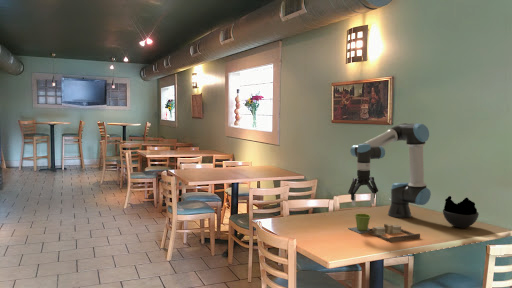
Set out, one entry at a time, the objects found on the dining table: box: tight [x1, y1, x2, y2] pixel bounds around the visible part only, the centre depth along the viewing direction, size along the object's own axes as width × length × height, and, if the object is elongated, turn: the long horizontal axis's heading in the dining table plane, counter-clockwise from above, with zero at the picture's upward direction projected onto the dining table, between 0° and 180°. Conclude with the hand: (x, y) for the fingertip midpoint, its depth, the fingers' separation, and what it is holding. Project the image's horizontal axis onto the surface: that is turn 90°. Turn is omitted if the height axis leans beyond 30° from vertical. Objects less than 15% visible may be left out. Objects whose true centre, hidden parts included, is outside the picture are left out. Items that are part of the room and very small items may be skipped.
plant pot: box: [354, 213, 372, 231], centre depth 245 cm, size 9×9×9 cm
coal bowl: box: [442, 195, 480, 229], centre depth 253 cm, size 20×20×19 cm
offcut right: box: [392, 224, 402, 235], centre depth 242 cm, size 4×6×4 cm, turn 110°
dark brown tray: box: [367, 228, 421, 243], centre depth 234 cm, size 19×21×2 cm
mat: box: [348, 226, 371, 235], centre depth 245 cm, size 12×12×1 cm
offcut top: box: [383, 223, 394, 235], centre depth 240 cm, size 4×5×3 cm
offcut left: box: [372, 225, 386, 236], centre depth 238 cm, size 4×6×4 cm, turn 116°
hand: (363, 204), depth 244 cm, fingers open, 13 cm apart
